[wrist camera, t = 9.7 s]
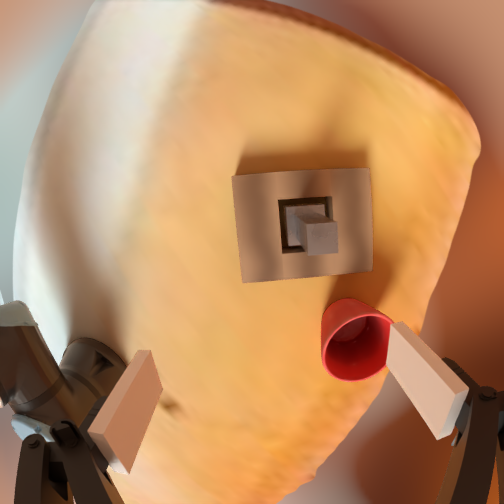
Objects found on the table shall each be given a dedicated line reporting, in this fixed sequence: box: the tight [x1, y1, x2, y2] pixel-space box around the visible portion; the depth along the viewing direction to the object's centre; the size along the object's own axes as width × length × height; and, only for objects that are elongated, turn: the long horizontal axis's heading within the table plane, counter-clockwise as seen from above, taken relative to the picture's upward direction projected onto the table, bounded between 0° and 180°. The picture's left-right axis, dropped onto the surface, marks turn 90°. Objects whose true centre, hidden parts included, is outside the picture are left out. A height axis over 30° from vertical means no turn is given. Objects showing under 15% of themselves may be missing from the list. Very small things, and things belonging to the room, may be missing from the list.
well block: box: [232, 168, 373, 283], centre depth 39 cm, size 18×14×4 cm
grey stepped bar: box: [283, 203, 339, 256], centre depth 34 cm, size 5×5×14 cm
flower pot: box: [321, 298, 394, 382], centre depth 39 cm, size 11×11×10 cm
